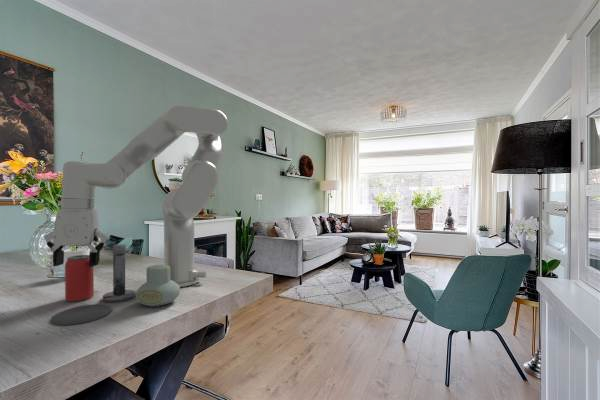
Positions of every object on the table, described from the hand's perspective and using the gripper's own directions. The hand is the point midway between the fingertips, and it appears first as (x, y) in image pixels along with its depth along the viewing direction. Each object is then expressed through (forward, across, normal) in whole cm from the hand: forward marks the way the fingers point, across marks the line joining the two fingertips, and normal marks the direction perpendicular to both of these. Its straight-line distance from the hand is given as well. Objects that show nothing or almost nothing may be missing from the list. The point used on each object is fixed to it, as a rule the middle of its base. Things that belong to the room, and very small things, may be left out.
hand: (76, 265), depth 87 cm
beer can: (+10, +1, +1) cm, 10 cm away
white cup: (+10, -16, +26) cm, 32 cm away
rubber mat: (+10, +10, -12) cm, 19 cm away
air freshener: (+9, +25, -4) cm, 27 cm away
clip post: (+9, +12, +1) cm, 15 cm away
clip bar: (-4, +9, +9) cm, 13 cm away
